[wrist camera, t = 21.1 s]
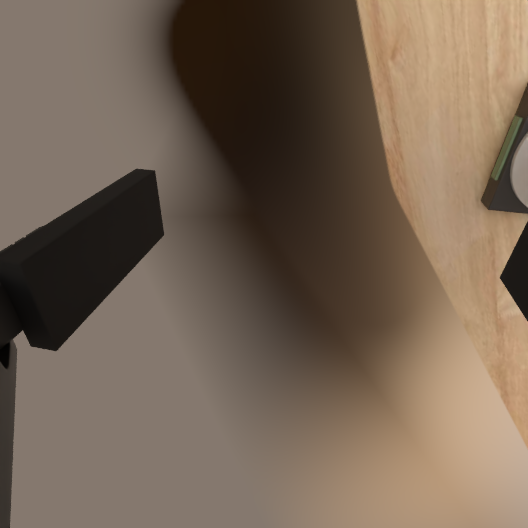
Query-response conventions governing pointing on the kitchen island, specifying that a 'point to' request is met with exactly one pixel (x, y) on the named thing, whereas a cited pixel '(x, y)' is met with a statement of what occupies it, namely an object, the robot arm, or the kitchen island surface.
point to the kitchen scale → (511, 167)
